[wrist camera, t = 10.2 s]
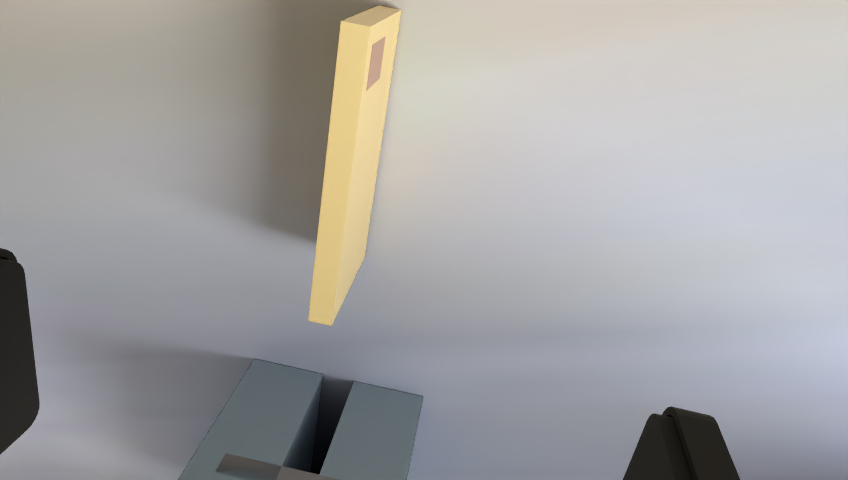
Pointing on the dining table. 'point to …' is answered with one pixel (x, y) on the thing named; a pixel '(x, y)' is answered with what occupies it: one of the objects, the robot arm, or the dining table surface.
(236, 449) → the dispenser
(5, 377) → the robot arm
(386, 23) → the tall yellow upright plank
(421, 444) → the dining table surface
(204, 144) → the dining table surface
